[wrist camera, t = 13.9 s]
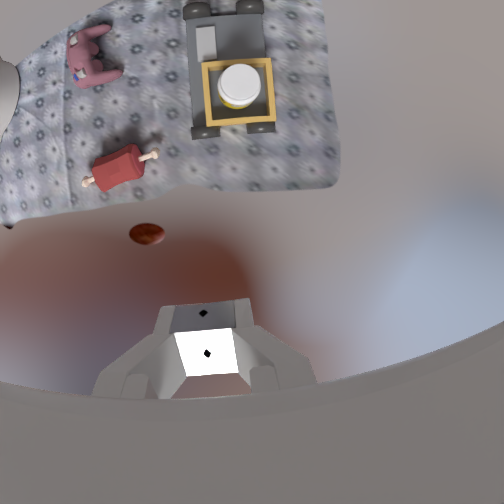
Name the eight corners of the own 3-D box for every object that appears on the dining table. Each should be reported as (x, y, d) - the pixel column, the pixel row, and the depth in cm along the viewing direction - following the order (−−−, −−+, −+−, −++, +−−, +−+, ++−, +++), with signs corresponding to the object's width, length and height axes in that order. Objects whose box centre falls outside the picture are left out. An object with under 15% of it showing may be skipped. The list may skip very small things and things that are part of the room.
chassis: (193, 139, 36) (190, 140, 32) (184, 14, 28) (181, 4, 25) (273, 132, 36) (278, 131, 33) (261, 8, 29) (264, -2, 25)
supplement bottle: (216, 78, 32) (214, 62, 24) (253, 74, 32) (261, 57, 24) (220, 112, 34) (219, 105, 26) (257, 108, 34) (266, 100, 26)
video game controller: (93, 38, 29) (57, 38, 23) (113, 22, 27) (76, 19, 21) (106, 89, 33) (69, 95, 27) (127, 75, 31) (88, 78, 25)
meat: (155, 130, 34) (150, 140, 30) (167, 161, 37) (164, 175, 33) (81, 161, 34) (69, 175, 30) (95, 189, 37) (85, 206, 34)
